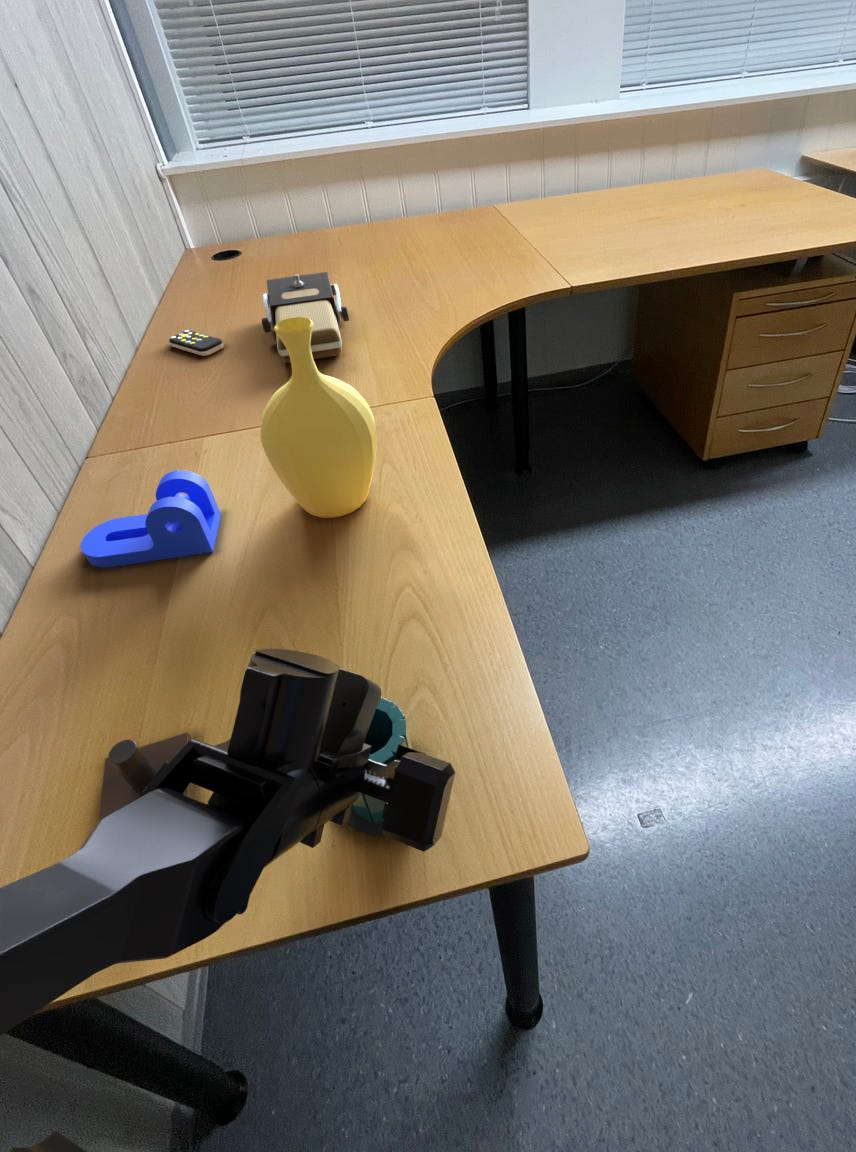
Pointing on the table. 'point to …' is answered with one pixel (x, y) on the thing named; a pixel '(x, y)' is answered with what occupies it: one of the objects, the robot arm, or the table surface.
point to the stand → (136, 770)
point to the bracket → (159, 526)
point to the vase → (318, 432)
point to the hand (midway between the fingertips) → (381, 744)
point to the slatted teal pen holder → (382, 751)
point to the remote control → (196, 343)
